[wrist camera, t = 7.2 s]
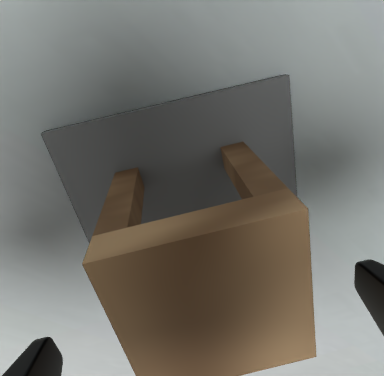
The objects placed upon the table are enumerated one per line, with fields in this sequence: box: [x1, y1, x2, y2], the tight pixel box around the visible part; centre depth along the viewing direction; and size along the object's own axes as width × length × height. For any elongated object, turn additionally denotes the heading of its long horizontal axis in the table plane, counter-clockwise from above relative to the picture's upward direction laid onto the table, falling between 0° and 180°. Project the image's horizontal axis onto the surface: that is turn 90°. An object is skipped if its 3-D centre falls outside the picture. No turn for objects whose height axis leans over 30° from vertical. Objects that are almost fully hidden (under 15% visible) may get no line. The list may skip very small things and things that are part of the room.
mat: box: [41, 74, 297, 244], centre depth 14 cm, size 10×10×1 cm
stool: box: [82, 142, 316, 376], centre depth 11 cm, size 6×6×6 cm
